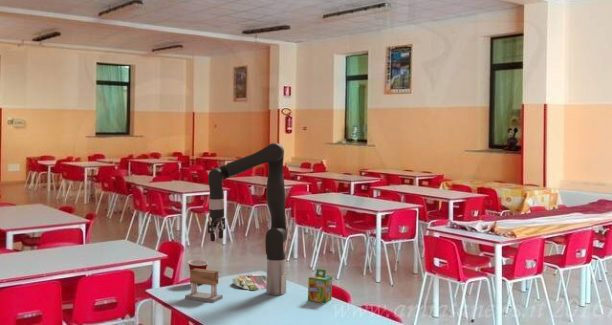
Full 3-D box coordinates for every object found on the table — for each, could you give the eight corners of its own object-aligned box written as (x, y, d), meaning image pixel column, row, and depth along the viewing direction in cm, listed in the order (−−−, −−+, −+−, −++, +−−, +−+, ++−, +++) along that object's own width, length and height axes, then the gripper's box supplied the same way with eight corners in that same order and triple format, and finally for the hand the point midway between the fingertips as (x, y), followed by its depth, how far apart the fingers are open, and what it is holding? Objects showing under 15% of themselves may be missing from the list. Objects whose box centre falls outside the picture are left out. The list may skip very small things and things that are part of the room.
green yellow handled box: (307, 301, 288) (307, 270, 288) (314, 296, 297) (315, 267, 296) (325, 303, 285) (325, 272, 284) (332, 299, 293) (332, 269, 293)
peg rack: (222, 298, 291) (222, 282, 291) (214, 302, 284) (214, 286, 284) (194, 294, 297) (194, 279, 297) (185, 298, 290) (185, 283, 290)
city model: (247, 298, 301) (249, 286, 300) (221, 283, 318) (222, 272, 317) (285, 290, 318) (287, 279, 317) (258, 276, 335) (260, 266, 334)
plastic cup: (201, 287, 310) (202, 264, 310) (183, 285, 314) (183, 262, 314) (212, 282, 321) (212, 260, 320) (194, 280, 324) (194, 258, 324)
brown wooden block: (195, 280, 295) (195, 268, 295) (218, 283, 290) (218, 271, 290) (190, 282, 291) (190, 270, 290) (213, 285, 286) (213, 273, 286)
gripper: (216, 205, 311) (216, 237, 312) (203, 209, 298) (203, 241, 298) (229, 206, 308) (229, 238, 309) (216, 209, 295) (216, 242, 296)
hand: (216, 239), depth 304 cm, fingers open, 8 cm apart
